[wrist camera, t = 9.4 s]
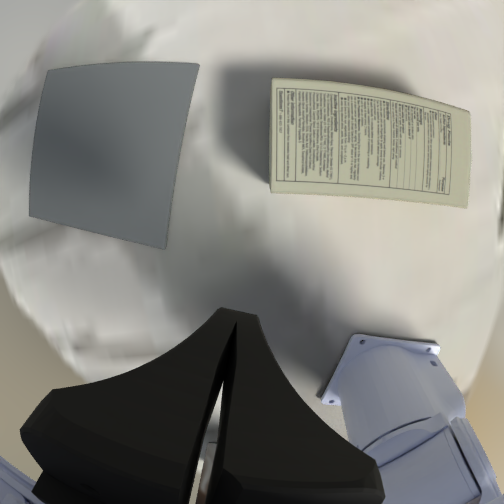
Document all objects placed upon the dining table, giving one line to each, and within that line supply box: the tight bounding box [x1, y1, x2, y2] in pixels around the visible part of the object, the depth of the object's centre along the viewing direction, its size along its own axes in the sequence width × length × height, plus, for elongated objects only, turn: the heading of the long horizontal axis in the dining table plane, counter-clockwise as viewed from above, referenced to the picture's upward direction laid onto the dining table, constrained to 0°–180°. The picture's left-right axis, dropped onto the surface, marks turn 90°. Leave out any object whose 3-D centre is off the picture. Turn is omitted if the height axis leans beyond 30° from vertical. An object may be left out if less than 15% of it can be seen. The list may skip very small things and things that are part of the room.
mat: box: [29, 62, 200, 249], centre depth 18 cm, size 14×13×1 cm
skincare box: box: [269, 78, 472, 208], centre depth 15 cm, size 6×4×12 cm
